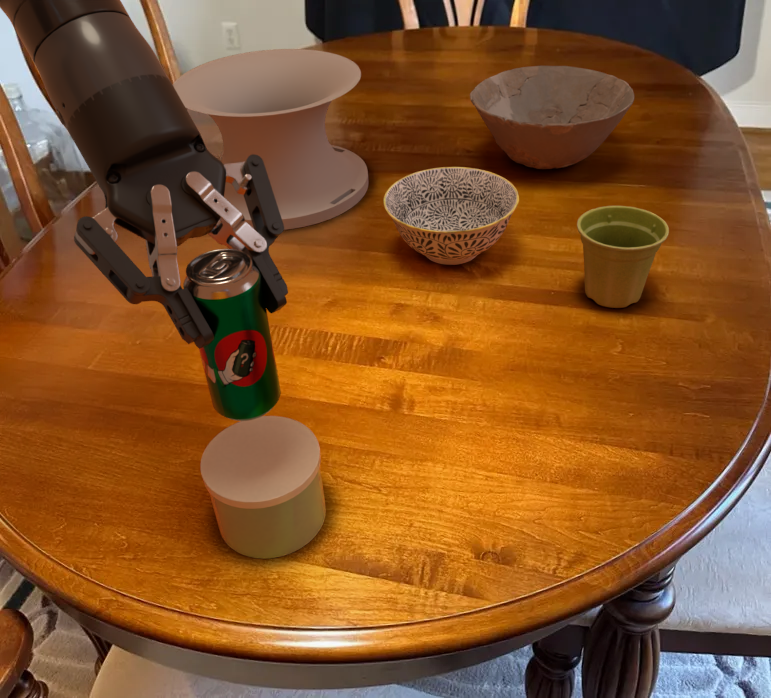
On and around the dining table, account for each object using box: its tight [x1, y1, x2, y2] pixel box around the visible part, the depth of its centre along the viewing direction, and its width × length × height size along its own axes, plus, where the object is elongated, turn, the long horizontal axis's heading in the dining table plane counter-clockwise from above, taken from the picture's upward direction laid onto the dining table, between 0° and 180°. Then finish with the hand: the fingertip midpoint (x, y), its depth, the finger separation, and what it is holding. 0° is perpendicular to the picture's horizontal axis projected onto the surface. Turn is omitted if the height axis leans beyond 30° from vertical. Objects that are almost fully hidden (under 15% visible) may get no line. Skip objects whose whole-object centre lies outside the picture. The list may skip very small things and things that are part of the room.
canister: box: [199, 415, 327, 559], centre depth 65 cm, size 9×9×7 cm
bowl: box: [382, 166, 520, 266], centre depth 97 cm, size 16×16×8 cm
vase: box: [172, 48, 370, 231], centre depth 110 cm, size 25×25×16 cm
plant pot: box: [576, 205, 670, 309], centre depth 87 cm, size 9×9×9 cm
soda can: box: [182, 248, 282, 422], centre depth 56 cm, size 5×5×12 cm
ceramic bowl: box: [469, 65, 635, 170], centre depth 115 cm, size 22×23×10 cm
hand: (243, 324), depth 53 cm, fingers closed on soda can, 5 cm apart
